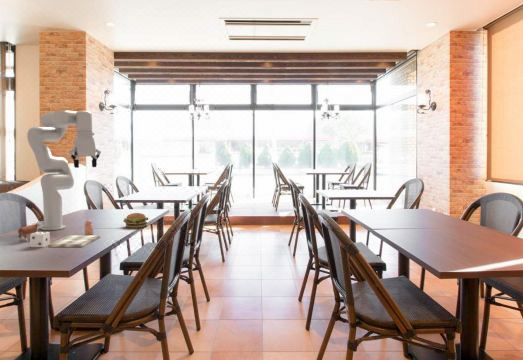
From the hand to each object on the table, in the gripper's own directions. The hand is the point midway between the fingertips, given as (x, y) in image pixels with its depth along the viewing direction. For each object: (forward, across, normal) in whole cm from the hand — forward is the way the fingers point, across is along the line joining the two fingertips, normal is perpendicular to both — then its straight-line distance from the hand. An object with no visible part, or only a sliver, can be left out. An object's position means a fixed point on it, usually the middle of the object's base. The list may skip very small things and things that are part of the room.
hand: (85, 167), depth 211 cm
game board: (+36, +12, +10) cm, 39 cm away
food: (+37, -32, -3) cm, 49 cm away
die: (+36, +26, +4) cm, 45 cm away
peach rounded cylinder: (+36, -1, 0) cm, 36 cm away
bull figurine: (+36, +23, -13) cm, 45 cm away
